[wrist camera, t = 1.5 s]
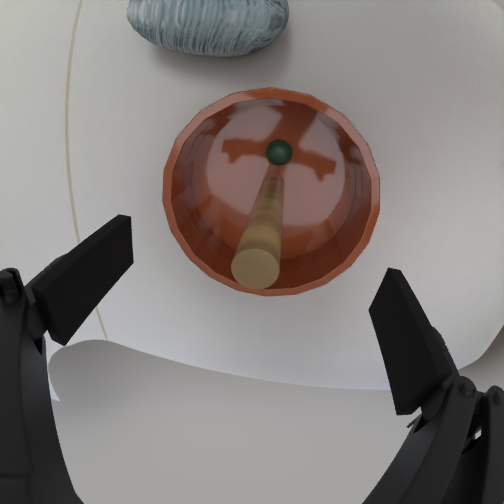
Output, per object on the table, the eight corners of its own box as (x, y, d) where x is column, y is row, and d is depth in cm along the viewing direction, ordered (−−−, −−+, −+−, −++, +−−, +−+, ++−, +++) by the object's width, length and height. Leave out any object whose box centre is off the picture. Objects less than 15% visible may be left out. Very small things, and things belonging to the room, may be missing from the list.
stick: (263, 172, 25) (233, 244, 12) (286, 177, 25) (284, 254, 12) (259, 194, 26) (228, 284, 13) (282, 198, 26) (274, 293, 13)
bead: (269, 136, 23) (267, 137, 21) (294, 141, 23) (295, 143, 21) (264, 160, 24) (262, 164, 22) (289, 165, 24) (290, 170, 22)
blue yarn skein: (317, -18, 13) (263, -41, 7) (290, 65, 21) (232, 87, 15) (193, -33, 15) (115, -32, 9) (181, 36, 22) (110, 56, 17)
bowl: (197, 85, 22) (173, 79, 17) (379, 121, 21) (404, 123, 16) (182, 245, 30) (162, 273, 25) (334, 276, 30) (341, 310, 25)
